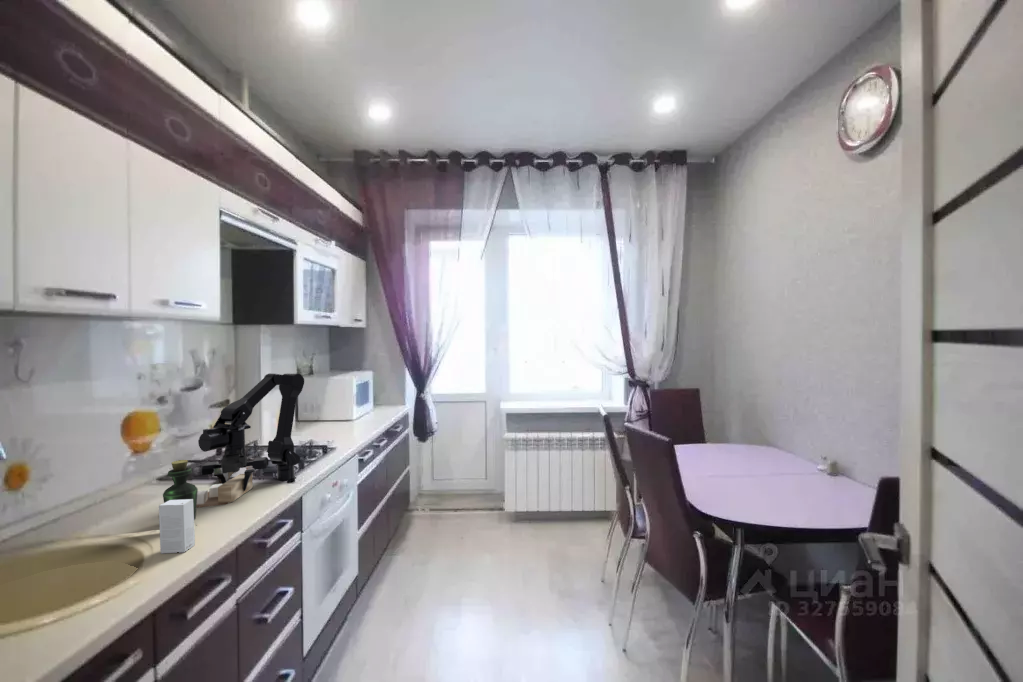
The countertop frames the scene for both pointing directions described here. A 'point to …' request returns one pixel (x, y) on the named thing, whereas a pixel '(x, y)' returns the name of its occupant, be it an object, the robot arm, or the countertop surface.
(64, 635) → the countertop surface
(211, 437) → the robot arm
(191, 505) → the skincare box
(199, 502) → the white square block
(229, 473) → the hand tool
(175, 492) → the potion bottle
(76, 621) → the countertop surface
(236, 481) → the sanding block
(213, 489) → the plain white cube
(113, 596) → the countertop surface
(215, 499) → the walnut board
